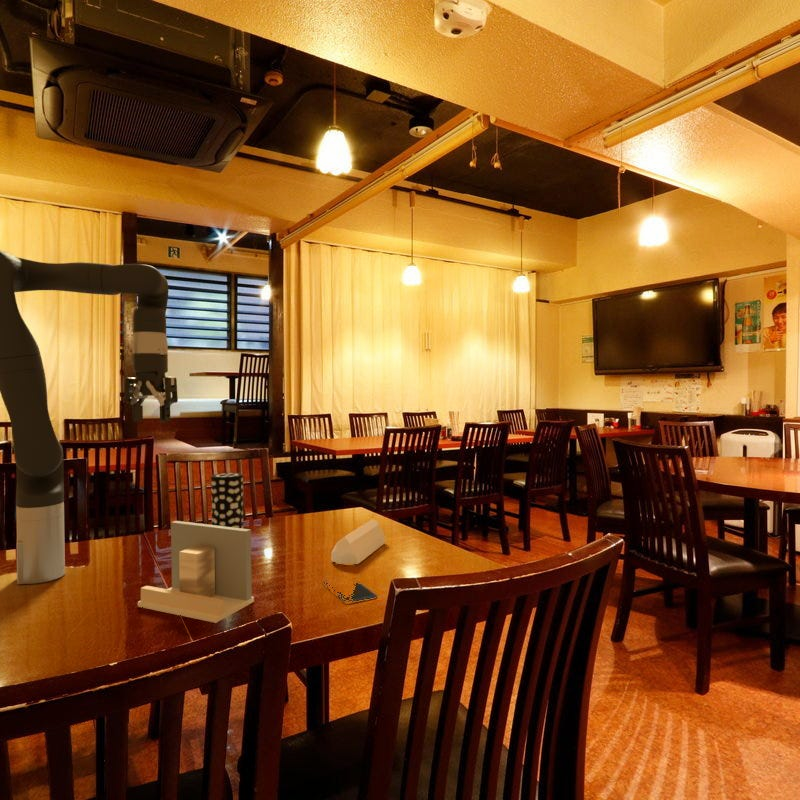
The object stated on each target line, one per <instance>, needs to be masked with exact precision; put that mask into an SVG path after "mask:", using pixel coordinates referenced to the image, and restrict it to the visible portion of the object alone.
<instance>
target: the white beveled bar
mask: <svg viewBox="0 0 800 800" xmlns="http://www.w3.org/2000/svg"><path fill="white" fill-rule="evenodd" d="M385 543H386V536H385V533H384V531H383V529H382V528H381V526H380V523H379V522H378V521H377V520H375V519H374V518H371V519H370V520H369V521H367V522H365V523H364V524H362V525H361V526H359V527H357V528H356V529H354V530H352V531H351V532H349V533H348V534H347V535H345V536H343V537H342V538H341V539H340V540H339V541H337V542H336V544H335V545H334V547H333V549H332V551H331V552H330V553H331V555H330V561H331V562H332V561H333V562H336V563H339V564H356V565H358V564H360V563H361V562H362V561H364V560H365V559H366V558H368V557H369V556H370V555H371V554H373V553H374V552H375V551H376V550H378V549H380V548H381V546H383V545H384V544H385ZM333 562H332V563H333Z"/></svg>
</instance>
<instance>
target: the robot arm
mask: <svg viewBox="0 0 800 800" xmlns="http://www.w3.org/2000/svg"><path fill="white" fill-rule="evenodd" d="M168 282H169V281H168V280H167V278H166V277H165V275H164V274H163V273H162V272H160V270H158V269H157V268H156V267H154V266H152V265H148V264H143V263H123V264H109V263H108V264H107V263H99V262H81V261H80V262H78V261H77V262H63V263H62V262H61V263H59V262H57V263H55V262H54V263H52V262H42V261H37V260H36V261H35V260H30V259H27V258H22V257H18V256H16V255H14V254H12V253H9V252H6V251H3V250H1V249H0V396H1V398H2V401H3V403H4V406H5V409H6V411H7V414H8V416H9V420H10V426H11V432H12V433H11V434H12V441H13V453H14V454H13V455H14V463H15V465H16V490H15V492H16V493H15V503H16V505H15V506H16V507H15V508H16V511H15V512H16V584H17V585H24V584H25V585H26V584H27V585H30V584H31V585H32V584H41V583H46V582H47V583H48V582H51V581H53V580H57V579H59V578H63V576H64V575H65V573H66V559H65V558H66V557H65V556H66V553H65V552H66V550H65V549H66V548H65V545H66V544H65V503H64V501H65V497H64V496H65V490H64V489H65V483H64V450H63V446H62V444H61V442H60V441H59V440H58V438H57V436H56V432H55V430H54V427H53V423H52V420H51V417H50V413H49V407H48V389H47V388H48V387H47V381H46V380H47V378H46V372H45V368H44V363H43V358H42V355H41V351H40V348H39V346H38V343H37V341H36V340H35V338H34V336H33V334H32V333H31V330H30V329H29V327H28V325H27V324H26V322H25V321H24V319H23V317H22V315H21V312H20V310H19V307H18V303H17V299H16V294H15V293H22V292H34V291H56V292H57V291H59V292H69V293H70V292H71V293H79V294H91V295H102V296H103V295H105V296H106V295H107V296H117V295H118V296H119V295H120V294H127V295H128V294H131V295H137V308H135V310H134V311H133V318H132V319H133V320H132V321H133V322H132V323H133V324H132V325H133V335H132V345H131V346H132V347H131V348H132V372H133V373H135V375H136V377H126V378H125V387H124V401H125V403H126V404H127V403H129V404H130V406H131V409H132V411H131V414H132V416H131V417H132V420H133V422H142V421H143V420H144V407H143V403H144V401H145V399H148V397H150V396H153V397H154V398H155V399H156V400H157V401H158V403H159V404H160V405H159V421H160V422H161V423H168V422H169V421H170V419H171V406H172V404H174V403H178V401H179V400H178V383H177V382H178V381H177V378H176V377H175V376H166V373H169V362H168V361H169V356H168V355H169V354H168V353H169V351H168V346H169V344H168V337H167V318H166V317H167V315H166V314H167V307H168V300H169V283H168Z"/></svg>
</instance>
